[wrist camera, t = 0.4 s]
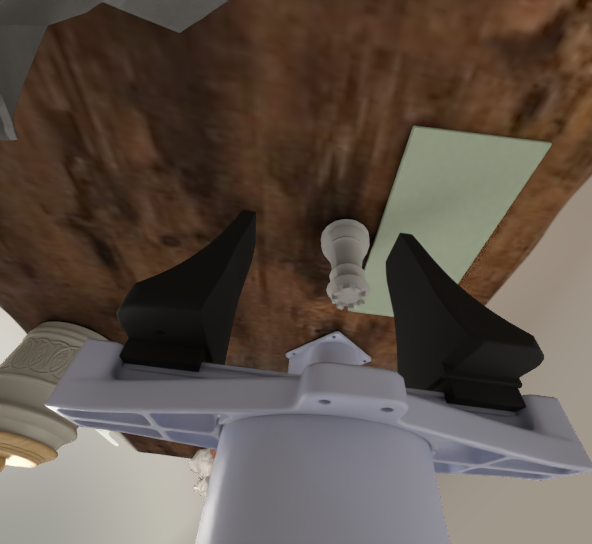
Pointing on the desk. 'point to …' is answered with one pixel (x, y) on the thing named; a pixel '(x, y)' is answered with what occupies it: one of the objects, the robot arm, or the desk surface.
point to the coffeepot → (60, 6)
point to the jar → (37, 394)
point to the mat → (448, 200)
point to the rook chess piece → (346, 262)
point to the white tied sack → (202, 469)
